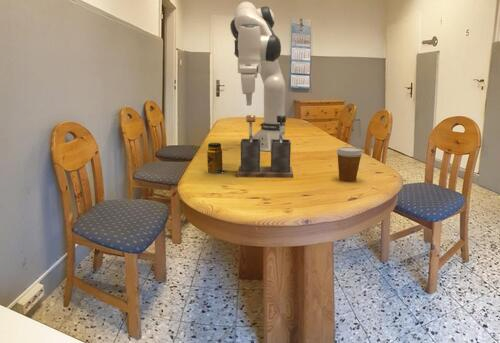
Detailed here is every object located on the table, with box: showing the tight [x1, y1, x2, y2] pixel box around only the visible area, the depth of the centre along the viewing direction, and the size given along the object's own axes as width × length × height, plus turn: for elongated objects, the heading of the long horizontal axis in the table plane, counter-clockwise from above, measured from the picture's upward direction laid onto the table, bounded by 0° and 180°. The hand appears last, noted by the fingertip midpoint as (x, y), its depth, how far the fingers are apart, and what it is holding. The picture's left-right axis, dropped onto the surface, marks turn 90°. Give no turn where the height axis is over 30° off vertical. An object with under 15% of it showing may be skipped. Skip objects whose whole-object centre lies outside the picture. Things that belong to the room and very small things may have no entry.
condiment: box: [206, 142, 229, 176], centre depth 153 cm, size 7×8×12 cm
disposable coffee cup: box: [336, 146, 363, 183], centre depth 142 cm, size 10×10×12 cm
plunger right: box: [277, 115, 287, 142], centre depth 147 cm, size 5×5×12 cm
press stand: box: [236, 138, 294, 179], centre depth 150 cm, size 22×12×14 cm, turn 87°
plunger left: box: [245, 114, 256, 142], centre depth 148 cm, size 5×5×12 cm
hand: (249, 105), depth 145 cm, fingers closed
